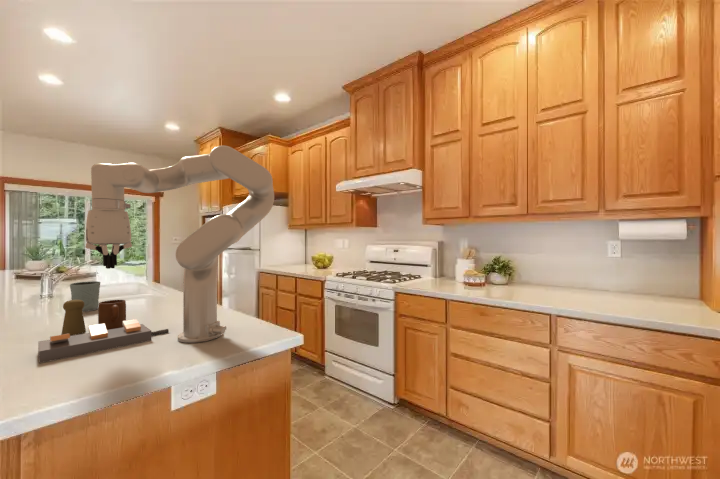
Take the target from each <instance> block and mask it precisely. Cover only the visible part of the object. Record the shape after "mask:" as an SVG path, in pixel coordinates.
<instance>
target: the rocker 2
mask: <svg viewBox="0 0 720 479" xmlns="http://www.w3.org/2000/svg"><path fill="white" fill-rule="evenodd" d="M122 325H123V327H124V329H125V331H126V333H127V332H133V331H138V330H141V326H140V322H139V320H138V319H137V318H134V319H128V320H127V319H126V321H123V322H122Z"/></svg>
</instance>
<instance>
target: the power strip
mask: <svg viewBox="0 0 720 479" xmlns="http://www.w3.org/2000/svg"><path fill="white" fill-rule="evenodd" d="M139 324H140V323H139ZM140 326H141V330H138V331H133V332H127V333H126V331H125V329H124V327H122V328H116V329H110V330H107V332H108V337H102V338H97V339H91V337H90V333H89V332H88V333H86V332H85V333H82V334H78V335H72V336H70V338H68V341H62V342H56V343H52V341H50V339H46V340H40V341H38V342H37V343H38V344H37V345H38V351H37V352H38V363H39V364H43V363H48V362H53V361H57V360H63V359H66V358H71V357H77V356H82V355H87V354H92V353H96V352H97V353H98V352H101V351H107V350H110V349H111V350H112V349H115V348H116V349H117V348H121V347H125V346H132V345H135V344H136V345H137V344H141V343H145V342H150V341H151V342H152V336H157V335H162V334H168V333H169V328H165V329H160V330H155V331H152V330H151V329H150V328H148V326H146V325H144V324H143V323H141V324H140Z"/></svg>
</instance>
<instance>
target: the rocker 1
mask: <svg viewBox="0 0 720 479" xmlns="http://www.w3.org/2000/svg"><path fill="white" fill-rule="evenodd" d="M68 338H70V334H63V335H61V334H57V335H52V336H51V335H50V336H49V340H50V341H52V343H56V342H62V341H68Z"/></svg>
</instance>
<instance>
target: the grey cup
mask: <svg viewBox="0 0 720 479" xmlns="http://www.w3.org/2000/svg"><path fill="white" fill-rule="evenodd" d="M100 288H101V281H93V280H92V281H79V282H78V281H77V282H72V283H70V284H69V289H70V295H71V296H70V300H82V301H83V302H84V307H83V309H82V311H83V313H85V312H84V311H86V312H92V311H96V310H98V306H99V303H100V302H99V300H100Z"/></svg>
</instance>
